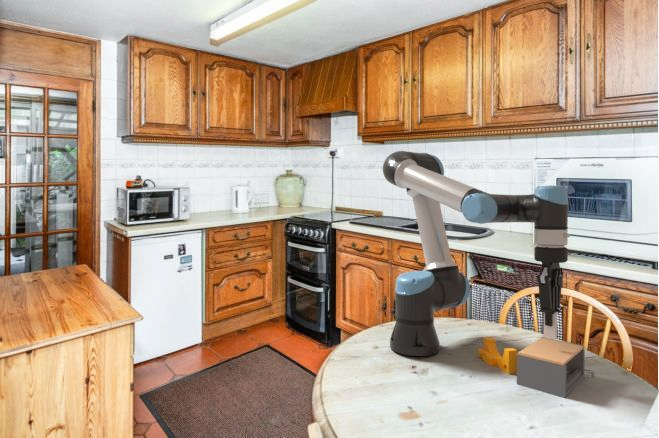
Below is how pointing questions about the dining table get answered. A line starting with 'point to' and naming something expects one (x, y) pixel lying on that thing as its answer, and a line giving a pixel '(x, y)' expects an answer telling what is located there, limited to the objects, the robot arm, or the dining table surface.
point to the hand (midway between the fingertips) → (550, 337)
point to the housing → (551, 374)
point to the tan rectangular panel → (551, 350)
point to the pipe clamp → (498, 356)
